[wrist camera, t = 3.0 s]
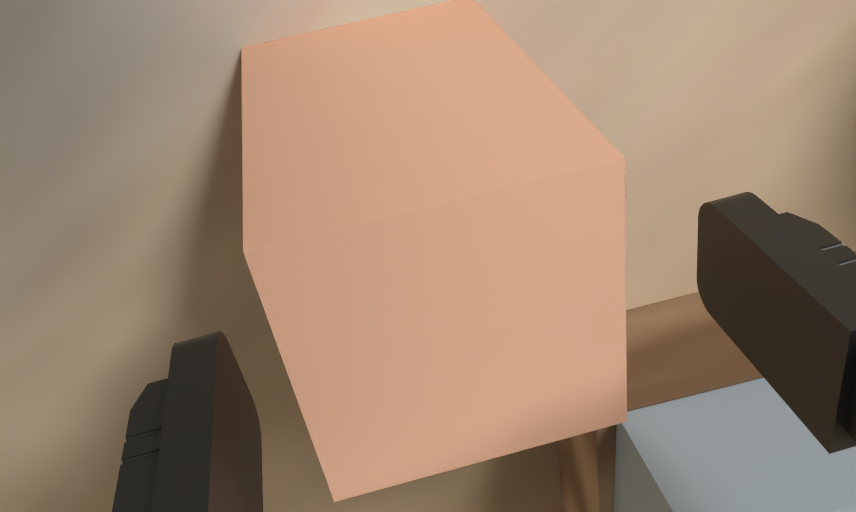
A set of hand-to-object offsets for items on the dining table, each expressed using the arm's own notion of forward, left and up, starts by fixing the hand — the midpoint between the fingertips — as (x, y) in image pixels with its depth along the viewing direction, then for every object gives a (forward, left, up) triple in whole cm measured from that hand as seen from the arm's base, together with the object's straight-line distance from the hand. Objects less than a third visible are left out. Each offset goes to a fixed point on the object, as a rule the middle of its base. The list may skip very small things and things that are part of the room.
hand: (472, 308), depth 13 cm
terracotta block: (-1, 0, -7) cm, 7 cm away
